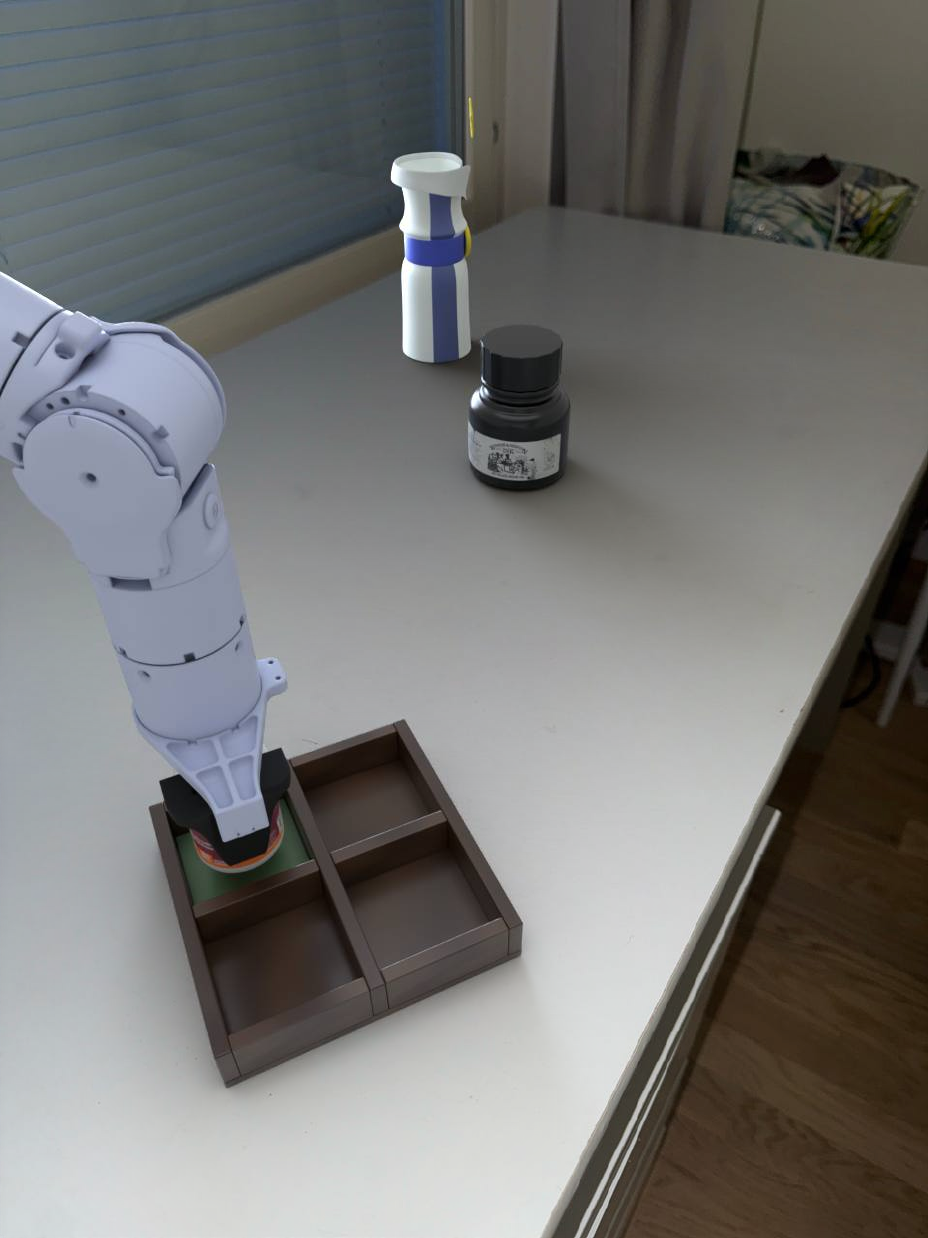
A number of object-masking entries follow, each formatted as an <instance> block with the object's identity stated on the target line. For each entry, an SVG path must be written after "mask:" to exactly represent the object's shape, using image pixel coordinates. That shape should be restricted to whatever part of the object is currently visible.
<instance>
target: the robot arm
mask: <svg viewBox="0 0 928 1238" xmlns="http://www.w3.org/2000/svg"><path fill="white" fill-rule="evenodd" d="M227 411H228V410H227V401H226V395H225V392H224V389H223V386H222V384H221V382H220V379H219V378H218V376H217V375H216V372H215V371H214V370H213V368H212V367H211V366H210V364H209V363H208V362H207V360H206V359H204V358H203V356H202V355H201V354H200V353H199V352H197V351H196V350H195V349H194V348H193V347H191V346H190V345H189V344H187V343H186V342H184V341H182V340H181V339H180V338H179V336H177V335H176V333H174V332H173V331H172V330H171V329H169V328H168V327H165V326H163V325H159V324H155V323H151V322H143V321H127V322H120V323H109V322H105V321H102V320H101V319H99V318H97V317H95V316H93V315H89V316H87V315H85V314H84V313H82V312H80V311H77V310H76V311H74V312H71V311H70V310H67V309H66V308H65V307H63V306H61V305H60V304H58V303H56V302H54V301H52V300H50V299H49V298H47V297H45V296H43V295H42V294H40V293H38V292H36V291H35V290H33V289H31V288H30V287H28V286H26V285H25V284H23V283H21V282H19V281H18V280H16V279H14V278H12V277H11V276H9V275H7V274H5V273H4V272H2V271H0V456H1V457H2V458H5V459H7V460H9V461H11V462H12V463H14V464H16V465H18V466H14V467H13V468H12V469H11V473H12V475H13V477H14V479H15V481H16V483H17V485H18V487H19V488H20V490H21V491H22V493H23V494H24V496H25V497H26V498H27V499H28V501H29V502H30V503H31V504H32V505H33V507H35V509H37V511H39V512H40V513H41V514H42V515H43V516H44V517H45V518H47V519H48V520H49V521H51V522H52V523H53V524H54V525H55V526H57V528H59V530H61V531H62V533H63V534H64V535H65V537H66V538H67V541H68V542H69V544H70V546H71V549H72V552H73V555H74V558H75V560H76V563H77V564H83V565H84V566H85V569H86V571H87V575H88V577H89V579H90V582H91V585H92V588H93V591H94V594H95V598H96V600H97V603H98V605H99V608H100V612H101V613H102V617H103V621H104V623H105V625H106V629H107V633H108V634H109V637H110V641H111V643H112V647H113V649H114V652H115V655H116V658H117V661H118V664H119V667H120V670H121V673H122V676H123V678H124V682H125V684H126V687H127V690H128V693H129V695H130V698H131V705H130V707H131V715H132V718H133V722H134V724H135V727H136V729H137V731H138V734H139V735H140V736H141V737H142V738H143V740H144V741H146V742H147V744H148V745H150V746H151V747H152V748H153V749H154V750H155V751H156V753H157V754H159V755H160V757H162V759H164V760H165V761H166V762H167V763H168V764H169V765H170V766H171V767H172V768H173V770H174V769H175V770H176V771H177V772H178V773H179V774H177V775H174V774H173V775H171V776H169V777H165V778H162V779H160V780H159V781H158V784H159V787H160V790H161V794H162V797H163V801H165V805H166V808H167V810H168V813H169V815H170V816H171V817H172V819H173V820H174V821H175V822H176V823H177V824H178V825H179V826H182V827H186V828H190V829H192V830H195V831H196V832H198V833H200V834H201V835H202V836H203V837H204V838H205V839H206V840H207V841H208V842H209V843H210V845H211V846H212V847H213V849H214V850H215V851H216V853H217V854H218V855H219V857H220V858H221V859H222V860H223V861H224V862H225V863H226V864H227V865H228V866H233V865H236V864H239V863H241V862H244V861H247V860H249V859H252V858H255V857H257V856H260V855H263V854H265V853H266V852H267V849H268V845H269V839H270V831H271V822H272V817H273V812H274V809H275V807H276V805H277V803H278V801H279V799H280V798H281V796H282V795H283V794H284V793H285V792H286V790H287V789H288V788H289V787H290V780H291V771H290V767H289V764H288V762H287V759H288V758H286V755H285V752H284V750H283V748H282V747H277V748H274V749H271V750H268V752H266V753H263V754H262V749H263V744H264V737H265V728H266V718H267V709H268V703H269V701H270V699H271V698H273V697H275V696H278V695H281V694H283V693H285V692H286V691H287V689H289V684H288V679H287V675H286V673H285V671H284V668H283V666H282V664H281V662H280V661H279V659H278V658H275V657H272V656H271V657H265V658H262V659H259V660H258V659H257V657H256V652H255V648H254V644H253V638H252V634H251V630H250V629H251V628H250V624H249V618H248V614H247V610H246V604H245V600H244V595H243V590H242V586H241V581H240V576H239V572H238V568H237V567H238V566H237V562H236V557H235V552H234V547H233V544H232V539H231V535H230V530H229V525H228V522H227V518H226V513H225V509H224V504H223V500H222V494H221V491H220V486H219V481H218V477H217V472H216V467H215V465H214V464H213V463H210V462H207V461H208V459H209V458H210V456H211V454H212V453H213V452H214V451H215V449H216V447H217V446H218V443H219V441H220V438H221V435H222V433H223V431H224V428H225V426H226V421H227V415H228V414H227Z"/></svg>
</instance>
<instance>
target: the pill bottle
mask: <svg viewBox="0 0 928 1238" xmlns="http://www.w3.org/2000/svg"><path fill="white" fill-rule="evenodd" d="M266 752H269V750H268V748H267V746H266V745H265V744H264V743H263V749H262V754H263V753H266ZM177 774H179V773H178V772H177V771H176V770H175V769H174V768H173V776H174V775H177ZM189 829H190V828H189ZM190 832H191V835H192V838H193V841H194V844H195V847H196V850H197V853H198V855H199V857H200V858H201V860H202V861H203V862H204V863H205V864H206V865H208V866H209V867H211V868H213V869H215V870H217V871H220V872H224V873H239V872H245V871H249V870H252V869H254V868H256V867H258V866H260V865H262V864H263V863H264V862H266V861H267V860H268V859H269V858H270V857H272V856H273V854H274V853H275V852H276V851H277V849H278V848H279V846H280V844H281V842H282V839H283V834H284V825H283V819H282V814H281V810H280V805H279V801H278V803H277V805H276V807H275V809H274V812H273V817H272V822H271V831H270V839H269V845H268V849H267V852H266V853H265V854H263V855H260V856H257V857H255V858H252V859H249V860H247V861H244V862H241V863H239V864H236V865H233V866H228V865H227V864H226V863H225V862H224V861H223V860H222V859H221V858H220V857H219V855H218V854H217V853H216V851H215V850H214V849H213V847H212V846H211V845H210V843H209V842H208V841H207V840H206V839H205V838H204V837H203V836H202V835H201V834H200V833H198V832H196V831H195V830H192V829H190Z"/></svg>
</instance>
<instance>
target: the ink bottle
mask: <svg viewBox="0 0 928 1238" xmlns="http://www.w3.org/2000/svg"><path fill="white" fill-rule="evenodd" d="M563 345H564V340H563V339H562V337H561V335H560V333H557V332H556V331H554V330H552V329H551V328H547V327H543V326H541V325H540V326H539V325H534V324H524V323H520V324H506V325H503V326H498V327H494V328H492V329H491V330H489V331H487V332H484V333H483V336H482V338H481V339H480V375H481V376H480V381H481V384H482V385H479V387H478V388H476V390H475V391H474V392H473V393H472V394H471V397H470V399H469V403H468V419H467V430H468V431H467V441H468V459H469V460H468V461H469V467H470V470H471V471H472V473H473V475H475V477H477V478H478V479H479V480H481V481H482V482H484V483H486V484H490V485H492V486H495V487H498V488H499V487H500V488H504V489H512V490H531V489H532V490H533V489H537V488H542V487H545V486H549V485H550V484H552V483H553V482H554V481H555V482H556V480H558V479H559V478H560V477H561V476H562V475H563V473H564V472H565V471H566V468H567V463H568V454H569V439H570V425H571V424H570V423H571V407H572V406H571V400H570V397H569V395H568V394H567V392H566V391H565V390H564V389H563V388H562V387H560V386H559V385H560V381H561V376H562V364H563Z"/></svg>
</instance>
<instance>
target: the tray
mask: <svg viewBox="0 0 928 1238" xmlns="http://www.w3.org/2000/svg"><path fill="white" fill-rule="evenodd" d="M286 759H287V762H288V764H289V767H290V771H291V780H290V787H289V788H288V789H287V790H286V792H285V793H284V794H283V795H282V796H281V798H280V799H279V805H280V810H281V814H282V819H283V825H284V834H283V839H282V842H281V844H280V846H279V848H278V849H277V851H276V852H275V853H274V854H273V856H272V857H270V858H269V859H268V860H267V861H266V862H264V863H263V864H262V865H260V866H258V867H256V868H254V869H252V870H249V871H245V872H239V873H224V872H220V871H217V870H215V869H213V868H211V867H209V866H208V865H206V864H205V863H204V862H203V861H202V860H201V858H200V857H199V855H198V853H197V850H196V847H195V844H194V841H193V838H192V835H191V832H190V829H189V828H186V827H182V826H179V825H178V824H177V823H176V822H175V821H174V820H173V819H172V817H171V816H170V815H169V813H168V810H167V808H166V805H165V801H164V800H163V801H161V802H157V803H155V804H152V805H149V806H148V812H149V814H150V819H151V823H152V827H153V831H154V834H155V838H156V843H157V846H158V849H159V853H160V854H159V855H160V857H161V860H162V861H161V862H162V866H163V868H164V869H163V870H164V873H165V876H166V881H167V883H168V884H167V885H168V888H169V893H170V896H171V900H172V904H173V907H174V911H175V915H176V920H177V922H178V923H177V924H178V927H179V931H180V934H181V938H182V942H183V946H184V949H185V953H186V957H187V961H188V965H189V968H190V972H191V976H192V980H193V984H194V988H195V992H196V996H197V999H198V1003H199V1007H200V1010H201V1011H200V1012H201V1014H202V1018H203V1021H204V1026H205V1031H206V1034H207V1037H208V1041H209V1045H210V1048H211V1053H212V1057H213V1059H214V1062H215V1065H216V1067H217V1069H218V1072H219V1074H220V1077H221V1080H222V1081H223V1084H224V1087H225V1088H227V1089H228V1088H231V1087H232V1086H234V1085H237V1084H238V1083H241V1082H243V1081H245V1080H248V1079H250V1078H253V1077H255V1076H256V1075H259V1074H261V1073H264V1072H265V1071H267V1070H270V1069H272V1068H274V1067H277V1066H279V1065H280V1064H284V1063H285V1062H287V1061H289V1060H290V1061H291V1060H292V1059H294V1058H296V1057H299V1056H300V1055H302V1054H305V1053H307V1052H310V1051H312V1050H314V1049H316V1048H318V1047H320V1046H322V1045H325V1044H327V1043H329V1042H332V1041H334V1040H336V1039H338V1038H340V1037H343V1036H345V1035H347V1034H350V1033H351V1032H354V1031H356V1030H358V1029H360V1028H362V1027H364V1026H367V1025H369V1024H371V1023H373V1022H376V1021H378V1020H380V1019H382V1018H385V1017H387V1016H389V1015H391V1014H393V1013H396V1012H398V1011H400V1010H403V1009H404V1008H407V1007H409V1006H411V1005H414V1004H416V1003H418V1002H420V1001H422V1000H425V999H426V998H429V997H431V996H434V995H436V994H437V993H439V992H440V993H441V992H442V991H444V990H446V989H448V988H451V987H453V986H456V985H457V984H459V983H463V982H464V981H466V980H468V979H470V978H473V977H475V976H477V975H480V974H482V973H484V972H487V971H488V970H490V969H491V970H492V969H493V968H495V967H497V966H499V965H502V964H504V963H506V962H509V961H510V960H513V959H515V958H517V957H519V956H522V953H523V950H522V947H523V946H522V945H523V930H524V922H523V920H522V918H521V917H520V914H519V913H518V912H517V910H516V908H515V907H514V904H513V903H512V901H511V900H510V897H509V896H508V894H507V893H506V891H505V889H504V888H503V886H502V884H501V882H500V880H499V879H498V877H497V876H496V874H495V872H494V869H492V867H491V865H490V864H489V862H488V860H487V859H486V856H485V854H484V852H482V850H481V848H480V846H479V844H478V843H477V841H476V839H475V838H474V836H473V834H472V833H471V831H470V829H469V827H468V826H467V824H466V822H465V821H464V819H463V817H462V815H461V813H460V812H459V809H457V807H456V805H455V803H454V801H453V800H452V798H451V797H450V794H449V793H448V791H447V789H446V787H445V786H444V784H443V783H442V781H441V779H440V778H439V776H438V774H437V772H436V771H435V768H434V767H433V766H432V764H431V762H430V760H429V758H428V757H427V755H426V753H425V752H424V750H423V749H422V747H421V745H420V743H419V742H418V740H417V738H416V736H415V734H414V733H413V731H412V728H411V727H410V726H409V724H408V723H407V721H406V719H405V718H402V719H399V720H396V721H393V722H390V723H387V724H384V725H382V726H379V727H375V728H373V729H370V730H367V731H364V732H361V733H359V734H356V735H353V736H350V737H346V738H343V739H340V740H338V741H335V742H332V743H330V744H327V745H323V746H321V747H318V748H315V749H312V750H308V751H306V752H302V753H300V754H298V755H294V756H292V757H289V758H286Z"/></svg>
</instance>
